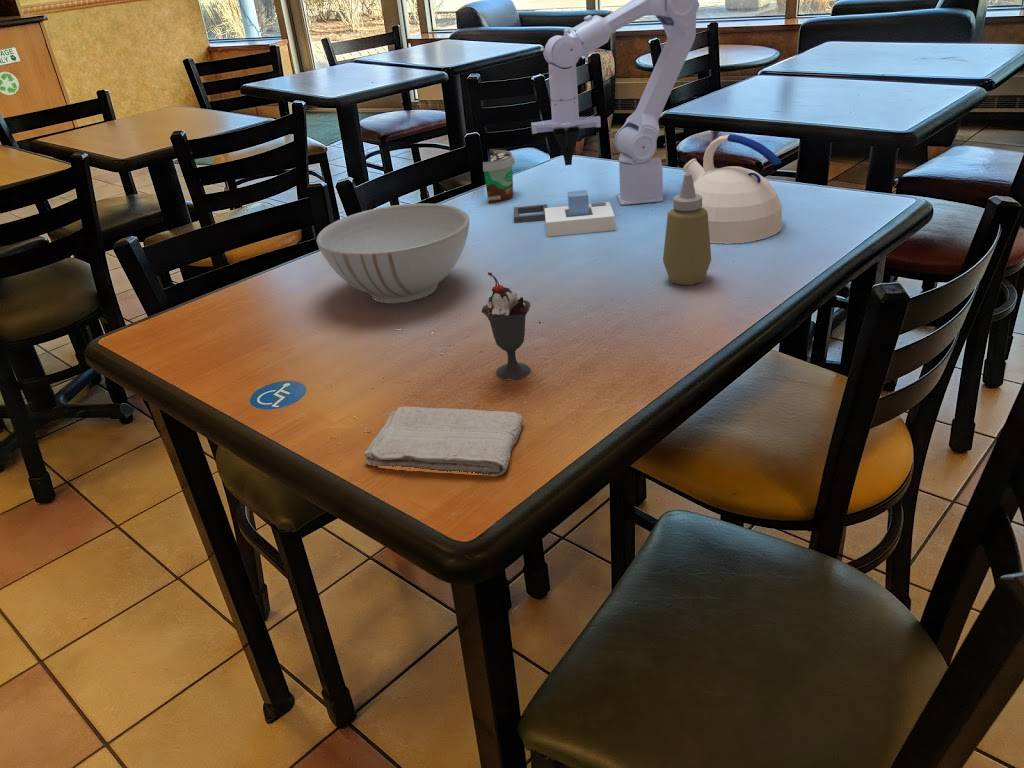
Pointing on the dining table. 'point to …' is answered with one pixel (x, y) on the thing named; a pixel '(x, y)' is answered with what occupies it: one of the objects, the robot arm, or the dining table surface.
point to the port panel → (579, 220)
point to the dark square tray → (526, 210)
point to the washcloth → (446, 440)
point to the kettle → (736, 196)
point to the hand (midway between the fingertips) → (568, 164)
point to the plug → (578, 203)
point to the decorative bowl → (396, 249)
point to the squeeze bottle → (687, 237)
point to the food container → (499, 176)
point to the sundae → (508, 327)
